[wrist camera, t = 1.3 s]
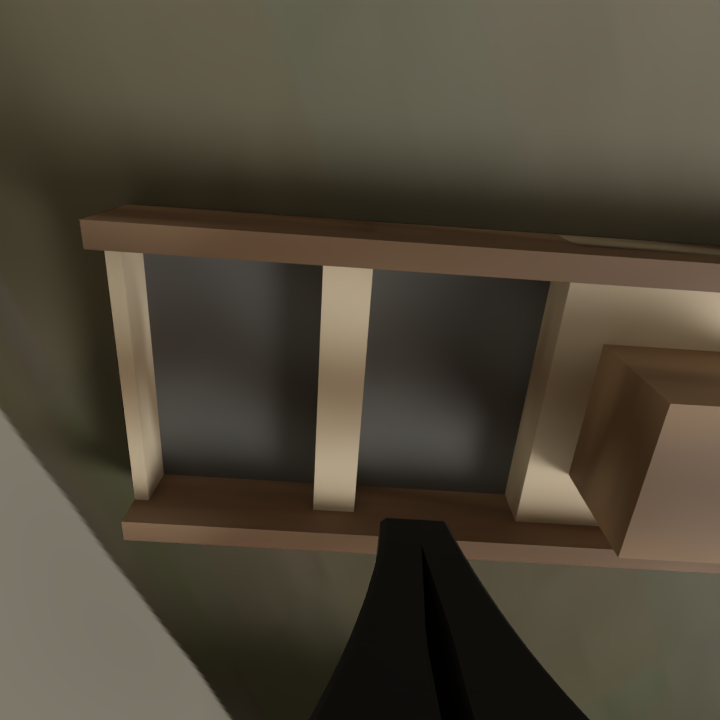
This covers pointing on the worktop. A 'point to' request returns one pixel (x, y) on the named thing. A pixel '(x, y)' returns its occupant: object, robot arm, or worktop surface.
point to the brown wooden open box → (377, 375)
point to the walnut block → (653, 453)
